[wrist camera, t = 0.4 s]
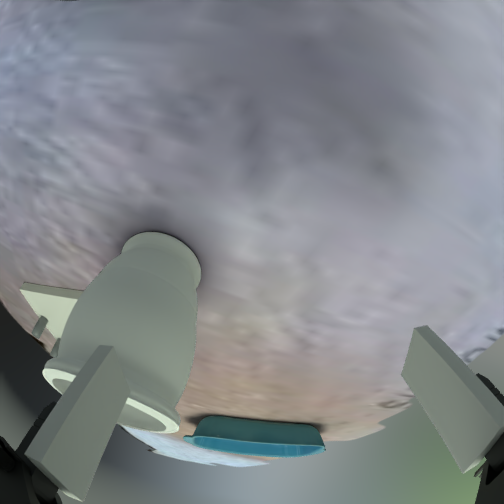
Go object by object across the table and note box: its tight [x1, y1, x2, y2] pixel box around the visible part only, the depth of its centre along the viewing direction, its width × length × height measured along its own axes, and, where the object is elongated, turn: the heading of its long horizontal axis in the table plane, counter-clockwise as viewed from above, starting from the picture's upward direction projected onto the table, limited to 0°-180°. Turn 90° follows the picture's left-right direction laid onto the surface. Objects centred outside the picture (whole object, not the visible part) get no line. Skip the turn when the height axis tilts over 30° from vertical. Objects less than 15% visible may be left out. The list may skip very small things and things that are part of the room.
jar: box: [43, 232, 201, 433], centre depth 20 cm, size 11×10×15 cm
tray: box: [20, 282, 84, 358], centre depth 34 cm, size 19×19×5 cm
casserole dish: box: [183, 416, 326, 457], centre depth 59 cm, size 37×22×7 cm, turn 78°
